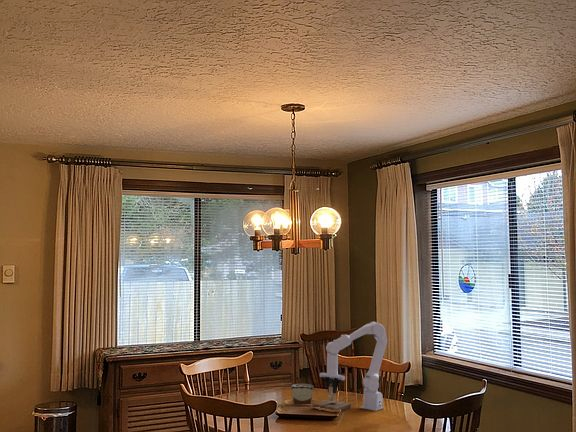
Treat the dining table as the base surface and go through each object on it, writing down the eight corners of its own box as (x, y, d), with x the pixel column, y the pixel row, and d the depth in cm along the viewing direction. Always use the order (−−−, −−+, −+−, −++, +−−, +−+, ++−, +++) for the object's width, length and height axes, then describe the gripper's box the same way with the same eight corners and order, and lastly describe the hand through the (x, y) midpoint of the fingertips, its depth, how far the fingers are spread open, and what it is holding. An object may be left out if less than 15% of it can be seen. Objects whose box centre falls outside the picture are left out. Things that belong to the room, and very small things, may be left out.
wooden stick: (335, 400, 309) (335, 384, 310) (332, 401, 307) (332, 385, 308) (331, 399, 311) (331, 383, 311) (328, 400, 309) (328, 384, 310)
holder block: (350, 408, 310) (350, 403, 310) (335, 413, 299) (335, 408, 299) (328, 404, 318) (328, 399, 319) (312, 408, 307) (312, 403, 308)
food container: (314, 403, 321) (314, 384, 322) (313, 405, 315) (314, 386, 316) (291, 402, 323) (291, 383, 324) (290, 404, 316) (290, 385, 317)
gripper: (316, 365, 312) (316, 391, 311) (339, 368, 303) (339, 395, 302) (324, 363, 317) (323, 389, 316) (347, 366, 308) (347, 393, 307)
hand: (332, 392), depth 309 cm, fingers closed on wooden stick, 2 cm apart
